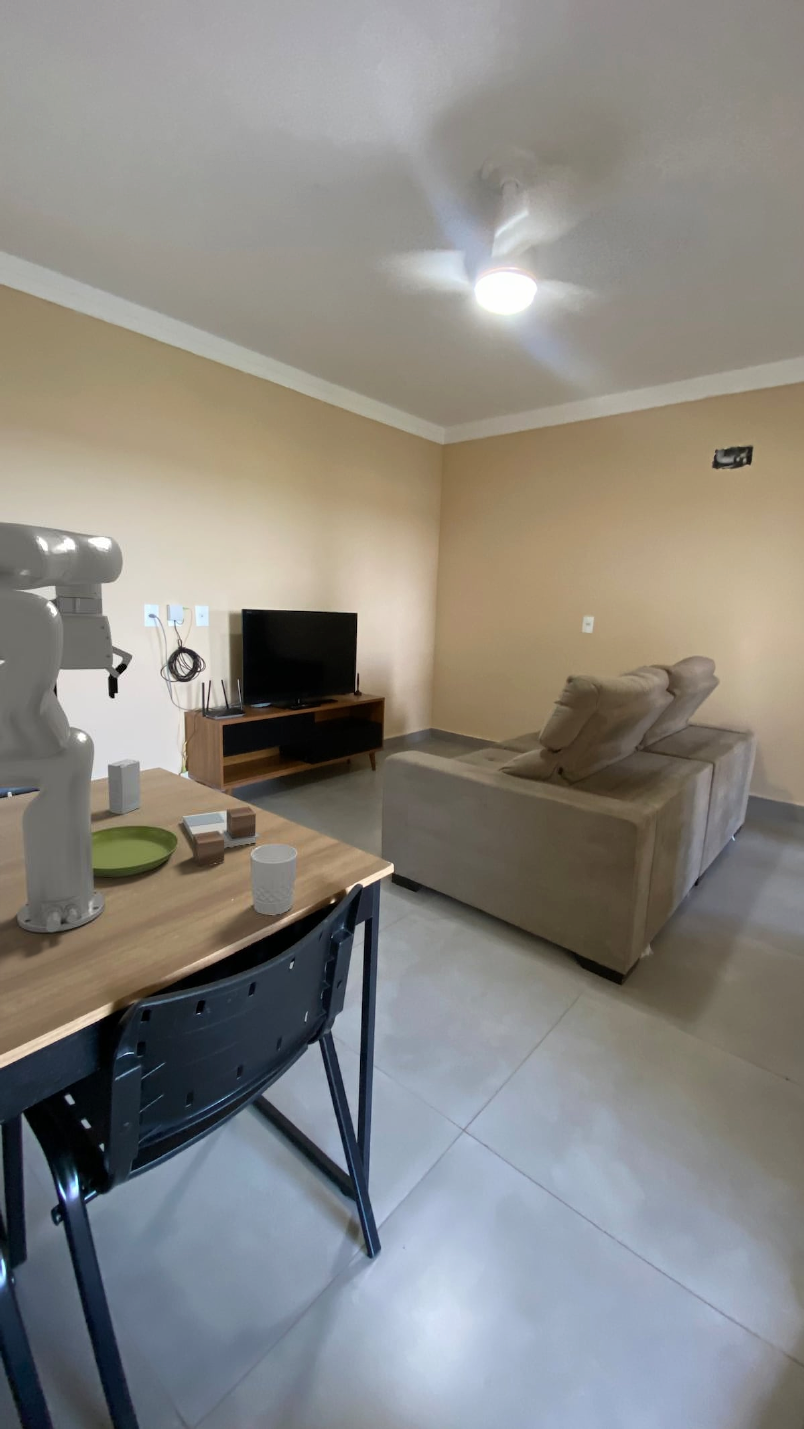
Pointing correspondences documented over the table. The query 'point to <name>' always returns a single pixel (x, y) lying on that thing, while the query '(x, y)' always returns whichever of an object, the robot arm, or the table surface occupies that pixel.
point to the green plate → (130, 849)
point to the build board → (214, 827)
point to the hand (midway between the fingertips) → (83, 698)
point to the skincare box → (124, 786)
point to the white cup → (273, 878)
